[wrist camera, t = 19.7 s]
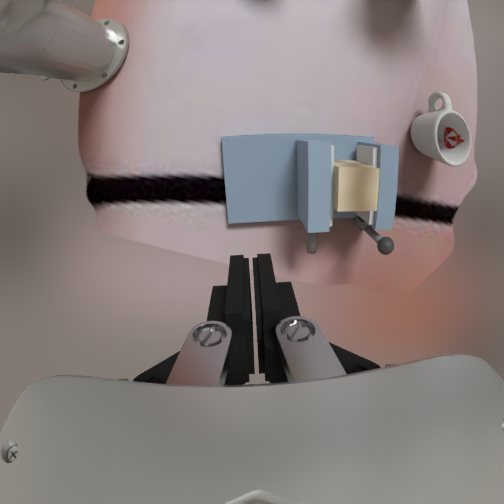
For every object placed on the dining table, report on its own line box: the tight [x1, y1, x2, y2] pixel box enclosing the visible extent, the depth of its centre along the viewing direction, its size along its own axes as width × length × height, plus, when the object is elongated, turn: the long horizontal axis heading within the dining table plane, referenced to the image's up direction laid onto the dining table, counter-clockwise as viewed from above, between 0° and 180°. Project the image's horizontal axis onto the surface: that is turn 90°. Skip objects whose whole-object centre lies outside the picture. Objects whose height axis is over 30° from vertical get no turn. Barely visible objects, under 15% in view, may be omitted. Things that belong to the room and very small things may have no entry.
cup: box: [411, 92, 471, 166], centre depth 29 cm, size 11×8×8 cm
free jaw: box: [296, 140, 334, 254], centre depth 33 cm, size 3×14×7 cm, turn 3°
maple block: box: [333, 160, 380, 212], centre depth 31 cm, size 5×5×8 cm
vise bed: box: [222, 134, 399, 255], centre depth 32 cm, size 21×14×10 cm
